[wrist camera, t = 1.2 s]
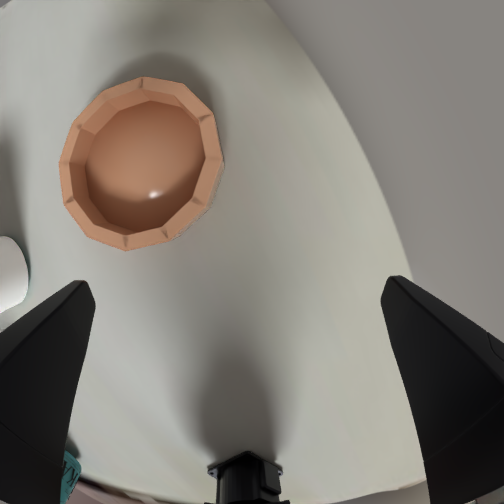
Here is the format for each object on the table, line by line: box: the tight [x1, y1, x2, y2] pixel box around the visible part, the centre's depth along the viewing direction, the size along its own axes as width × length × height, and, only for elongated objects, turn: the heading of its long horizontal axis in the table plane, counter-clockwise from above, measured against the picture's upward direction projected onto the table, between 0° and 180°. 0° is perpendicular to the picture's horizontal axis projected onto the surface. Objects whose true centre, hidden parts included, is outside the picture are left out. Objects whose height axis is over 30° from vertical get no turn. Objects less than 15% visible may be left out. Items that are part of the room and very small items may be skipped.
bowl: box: [59, 76, 225, 251], centre depth 19 cm, size 12×12×4 cm
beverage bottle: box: [60, 450, 81, 504], centre depth 15 cm, size 6×7×20 cm
